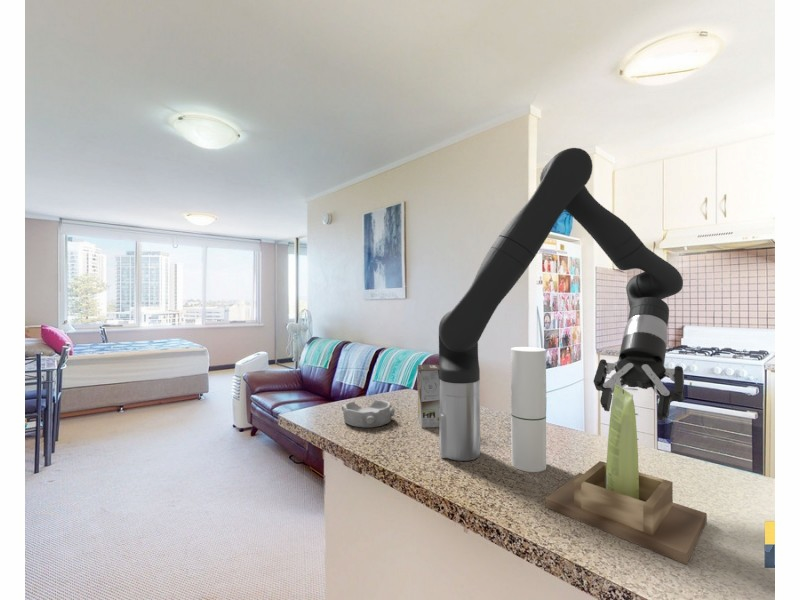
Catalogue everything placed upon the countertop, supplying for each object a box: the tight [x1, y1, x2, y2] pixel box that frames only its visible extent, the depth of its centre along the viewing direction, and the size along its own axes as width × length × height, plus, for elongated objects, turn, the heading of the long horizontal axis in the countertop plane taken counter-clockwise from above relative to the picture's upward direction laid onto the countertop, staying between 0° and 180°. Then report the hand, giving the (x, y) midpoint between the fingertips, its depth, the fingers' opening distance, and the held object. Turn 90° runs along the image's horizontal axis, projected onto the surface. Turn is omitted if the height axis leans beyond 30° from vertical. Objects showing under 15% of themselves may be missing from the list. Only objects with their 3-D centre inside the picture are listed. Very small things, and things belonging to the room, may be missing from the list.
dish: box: [341, 399, 395, 428], centre depth 115 cm, size 14×14×5 cm
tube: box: [606, 383, 640, 500], centre depth 65 cm, size 6×5×20 cm
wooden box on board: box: [545, 460, 708, 565], centre depth 65 cm, size 20×14×6 cm
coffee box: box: [416, 363, 440, 429], centre depth 113 cm, size 9×6×16 cm
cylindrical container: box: [510, 346, 547, 473], centre depth 84 cm, size 7×7×25 cm
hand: (632, 413), depth 70 cm, fingers open, 8 cm apart
